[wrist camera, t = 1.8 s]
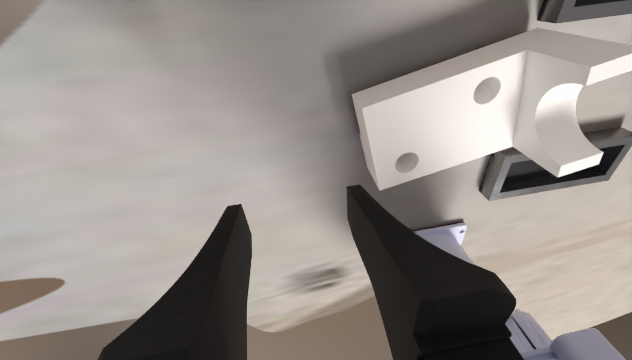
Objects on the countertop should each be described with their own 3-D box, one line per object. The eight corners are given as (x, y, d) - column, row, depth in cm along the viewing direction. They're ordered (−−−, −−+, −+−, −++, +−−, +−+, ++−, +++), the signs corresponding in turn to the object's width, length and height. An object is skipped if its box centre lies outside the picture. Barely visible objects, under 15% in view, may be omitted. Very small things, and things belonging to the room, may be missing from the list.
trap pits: (594, 171, 29) (608, 180, 27) (479, 191, 28) (488, 200, 27) (763, -100, 17) (802, -106, 16) (571, -80, 16) (596, -85, 15)
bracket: (526, 25, 19) (646, 48, 13) (513, 115, 24) (598, 164, 17) (348, 89, 20) (384, 138, 14) (366, 165, 24) (399, 228, 18)
